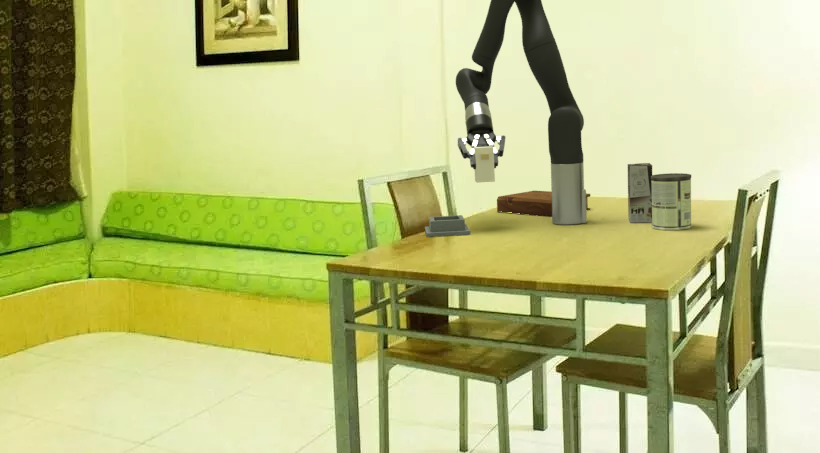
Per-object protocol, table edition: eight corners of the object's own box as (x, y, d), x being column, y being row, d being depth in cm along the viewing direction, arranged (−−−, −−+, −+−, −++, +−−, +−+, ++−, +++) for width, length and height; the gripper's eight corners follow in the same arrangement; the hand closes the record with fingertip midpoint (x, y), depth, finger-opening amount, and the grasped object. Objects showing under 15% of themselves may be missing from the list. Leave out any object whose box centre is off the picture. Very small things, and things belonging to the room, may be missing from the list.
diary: (497, 214, 276) (496, 196, 275) (534, 207, 288) (534, 190, 288) (553, 218, 259) (553, 199, 258) (590, 211, 271) (590, 193, 271)
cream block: (492, 179, 241) (491, 146, 239) (495, 181, 235) (493, 147, 233) (475, 180, 241) (473, 147, 239) (477, 182, 235) (475, 148, 233)
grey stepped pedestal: (466, 227, 247) (465, 214, 246) (470, 234, 234) (470, 220, 233) (424, 230, 246) (424, 216, 246) (426, 237, 234) (426, 222, 233)
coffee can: (654, 224, 236) (654, 173, 234) (693, 224, 231) (693, 173, 229) (648, 230, 227) (647, 177, 225) (688, 230, 222) (688, 176, 220)
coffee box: (653, 222, 239) (652, 165, 236) (629, 223, 240) (628, 165, 238) (650, 218, 248) (650, 162, 245) (627, 218, 249) (627, 163, 246)
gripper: (454, 114, 243) (459, 159, 233) (504, 111, 243) (511, 156, 233) (453, 132, 249) (458, 177, 239) (502, 129, 249) (509, 174, 239)
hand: (485, 166), depth 236 cm, fingers closed on cream block, 5 cm apart
